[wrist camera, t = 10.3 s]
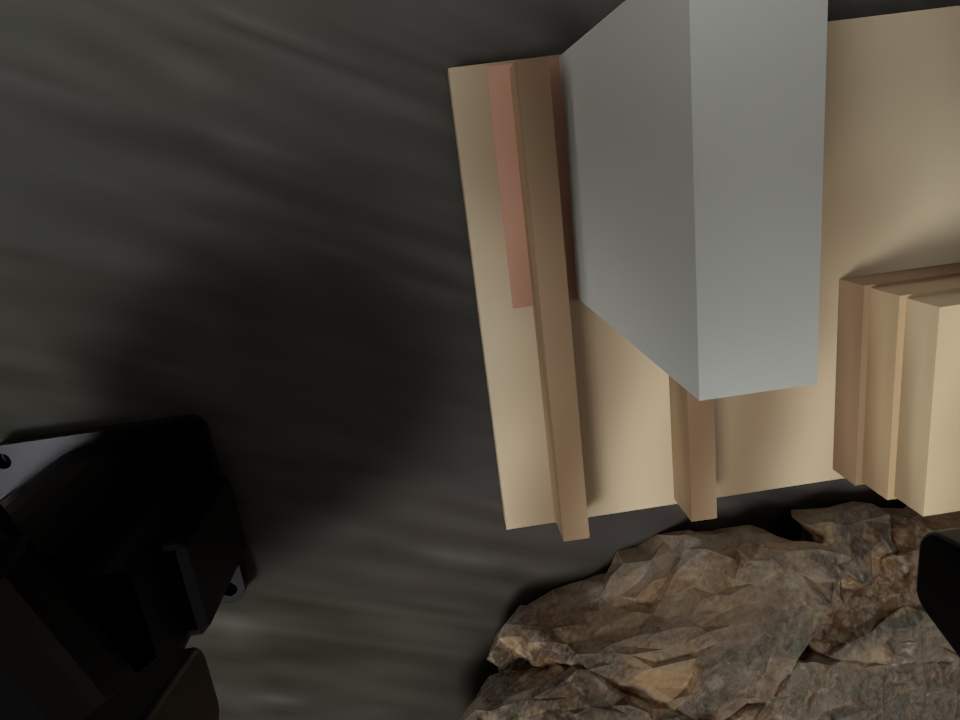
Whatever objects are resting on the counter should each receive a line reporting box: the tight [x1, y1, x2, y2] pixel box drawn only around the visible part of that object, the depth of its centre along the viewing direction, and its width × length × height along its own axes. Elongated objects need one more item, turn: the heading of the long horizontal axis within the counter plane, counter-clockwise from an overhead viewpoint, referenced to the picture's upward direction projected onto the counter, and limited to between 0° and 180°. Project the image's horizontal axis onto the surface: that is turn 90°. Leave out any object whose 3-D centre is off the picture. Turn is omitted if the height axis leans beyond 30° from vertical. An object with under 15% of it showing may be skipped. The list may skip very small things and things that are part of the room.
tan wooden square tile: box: [833, 262, 960, 486], centre depth 21 cm, size 6×6×1 cm
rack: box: [448, 6, 960, 542], centre depth 20 cm, size 18×14×2 cm
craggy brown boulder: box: [459, 501, 960, 720], centre depth 23 cm, size 14×5×20 cm
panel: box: [559, 0, 828, 401], centre depth 14 cm, size 2×7×9 cm, turn 7°
